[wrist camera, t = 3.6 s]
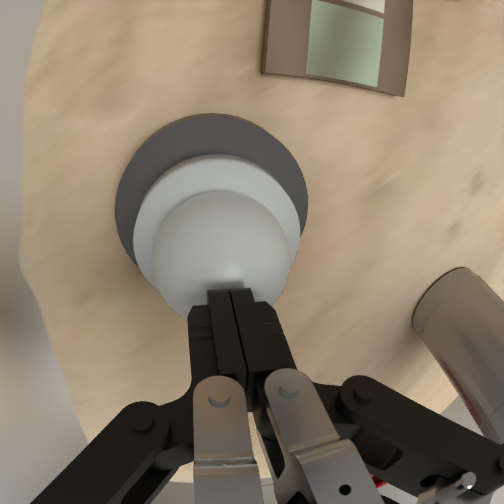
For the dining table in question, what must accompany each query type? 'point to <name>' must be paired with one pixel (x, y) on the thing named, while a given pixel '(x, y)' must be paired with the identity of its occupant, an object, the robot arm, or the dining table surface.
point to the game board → (340, 41)
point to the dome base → (197, 144)
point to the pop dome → (216, 231)
